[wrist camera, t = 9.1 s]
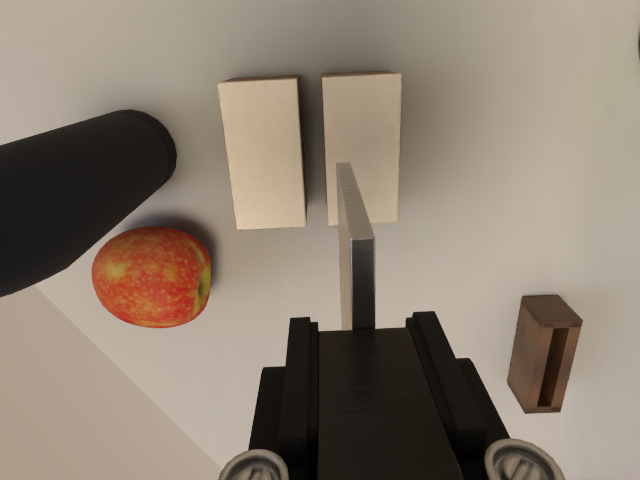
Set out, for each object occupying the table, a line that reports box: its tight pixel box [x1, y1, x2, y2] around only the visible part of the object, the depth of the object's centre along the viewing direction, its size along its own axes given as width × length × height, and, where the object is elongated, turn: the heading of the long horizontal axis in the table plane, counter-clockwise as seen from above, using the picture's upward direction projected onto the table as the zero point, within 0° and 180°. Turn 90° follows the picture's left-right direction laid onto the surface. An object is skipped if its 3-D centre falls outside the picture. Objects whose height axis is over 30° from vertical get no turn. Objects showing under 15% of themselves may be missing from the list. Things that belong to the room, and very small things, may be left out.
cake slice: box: [321, 71, 402, 226], centre depth 31 cm, size 10×5×5 cm, turn 3°
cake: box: [217, 75, 307, 230], centre depth 31 cm, size 10×5×5 cm, turn 3°
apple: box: [92, 227, 211, 328], centre depth 33 cm, size 8×8×8 cm
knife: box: [316, 162, 464, 480], centre depth 13 cm, size 8×2×13 cm, turn 3°
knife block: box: [508, 295, 583, 414], centre depth 39 cm, size 10×3×4 cm, turn 3°
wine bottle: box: [0, 110, 177, 297], centre depth 19 cm, size 6×6×30 cm
